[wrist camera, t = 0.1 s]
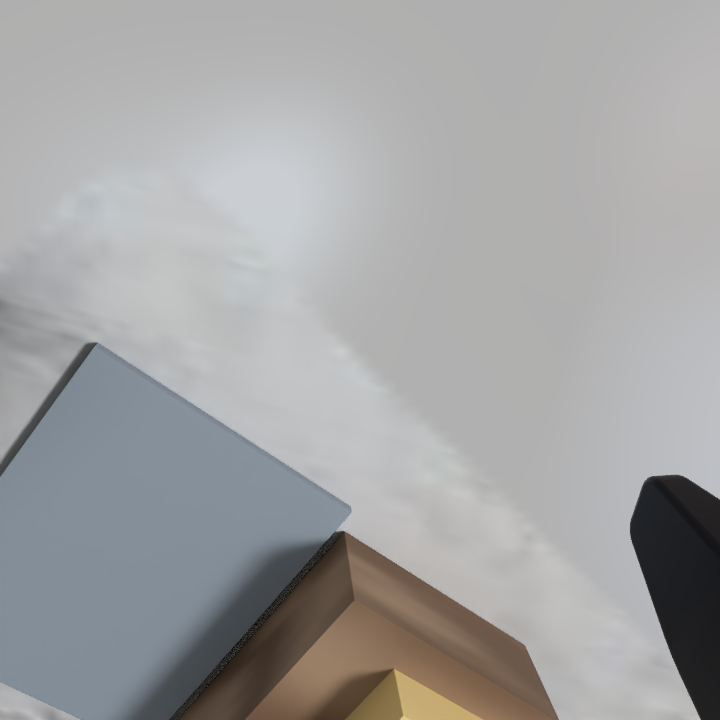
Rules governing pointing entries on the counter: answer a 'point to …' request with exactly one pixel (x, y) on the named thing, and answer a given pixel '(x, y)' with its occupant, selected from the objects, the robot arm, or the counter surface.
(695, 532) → the robot arm
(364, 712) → the pale yellow rectangular block
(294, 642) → the brown box
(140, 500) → the mat
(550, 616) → the counter surface
